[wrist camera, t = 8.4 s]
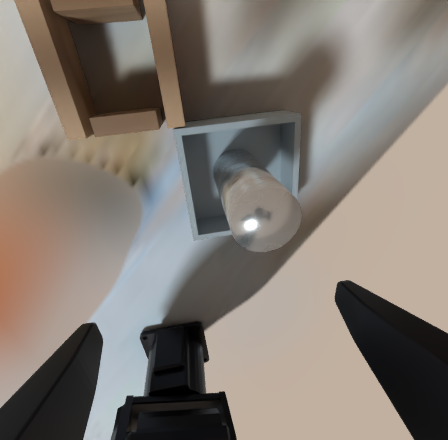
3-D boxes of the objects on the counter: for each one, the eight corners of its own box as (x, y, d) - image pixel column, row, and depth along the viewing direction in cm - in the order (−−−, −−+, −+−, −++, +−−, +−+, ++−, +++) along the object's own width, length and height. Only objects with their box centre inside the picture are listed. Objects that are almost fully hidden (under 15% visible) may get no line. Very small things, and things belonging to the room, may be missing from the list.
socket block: (184, 120, 17) (185, 126, 15) (86, 131, 17) (67, 140, 14) (165, -5, 14) (160, -27, 11) (42, 4, 13) (8, -16, 11)
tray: (282, 207, 22) (296, 224, 19) (192, 221, 21) (193, 240, 18) (284, 110, 18) (301, 114, 15) (174, 122, 17) (173, 129, 15)
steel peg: (258, 190, 20) (299, 246, 13) (215, 196, 20) (233, 257, 13) (257, 145, 18) (303, 182, 11) (210, 151, 18) (227, 193, 11)
